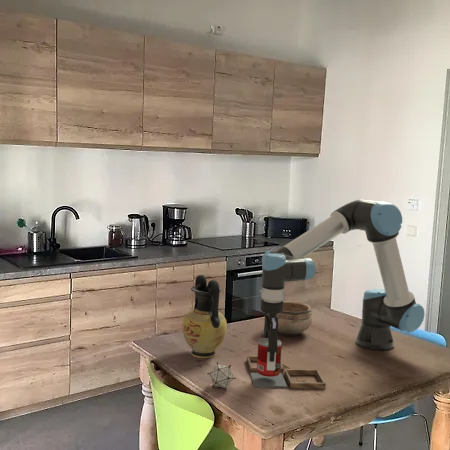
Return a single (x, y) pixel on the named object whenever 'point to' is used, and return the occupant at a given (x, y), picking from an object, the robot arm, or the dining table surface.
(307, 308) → the cooking pot
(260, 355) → the canned food
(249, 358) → the frame
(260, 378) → the slate board
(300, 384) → the empty crate
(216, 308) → the amphora
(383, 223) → the robot arm
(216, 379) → the game die
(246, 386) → the dining table surface
